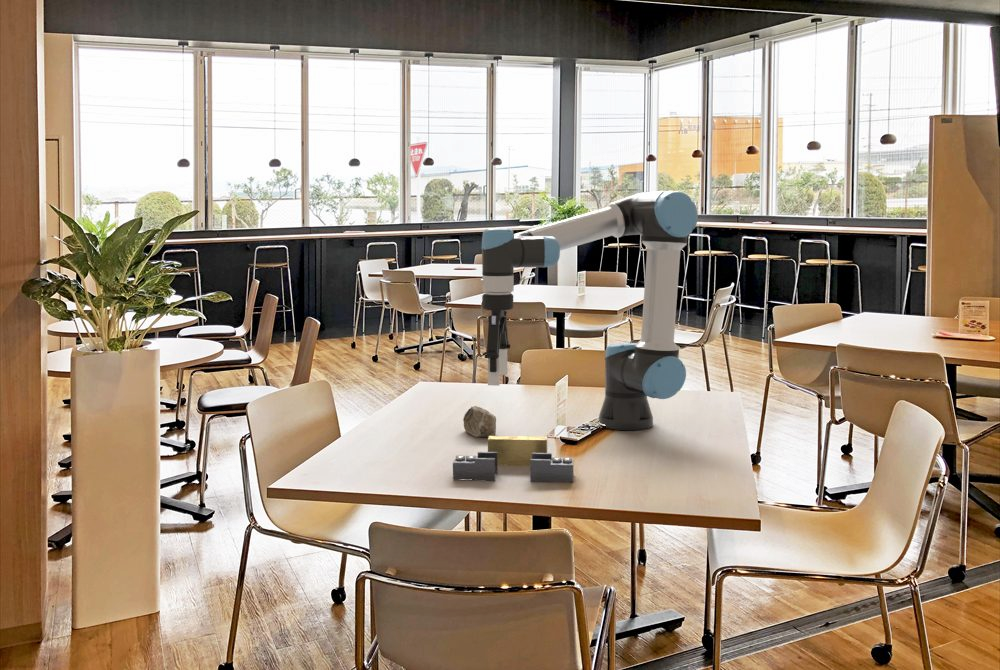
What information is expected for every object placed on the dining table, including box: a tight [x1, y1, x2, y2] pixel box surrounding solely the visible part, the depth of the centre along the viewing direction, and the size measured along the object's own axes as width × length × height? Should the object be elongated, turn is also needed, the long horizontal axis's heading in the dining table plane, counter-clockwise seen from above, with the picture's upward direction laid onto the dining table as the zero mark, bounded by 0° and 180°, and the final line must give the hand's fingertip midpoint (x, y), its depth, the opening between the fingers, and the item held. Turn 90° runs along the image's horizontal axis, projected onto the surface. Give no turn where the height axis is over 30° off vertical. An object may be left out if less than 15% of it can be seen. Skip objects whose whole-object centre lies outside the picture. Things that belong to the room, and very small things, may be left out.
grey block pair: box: [452, 451, 575, 484], centre depth 203 cm, size 27×6×5 cm, turn 84°
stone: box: [462, 405, 497, 438], centre depth 242 cm, size 7×12×7 cm, turn 33°
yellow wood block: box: [487, 435, 548, 467], centre depth 213 cm, size 14×3×6 cm, turn 84°
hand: (497, 380), depth 218 cm, fingers open, 13 cm apart
